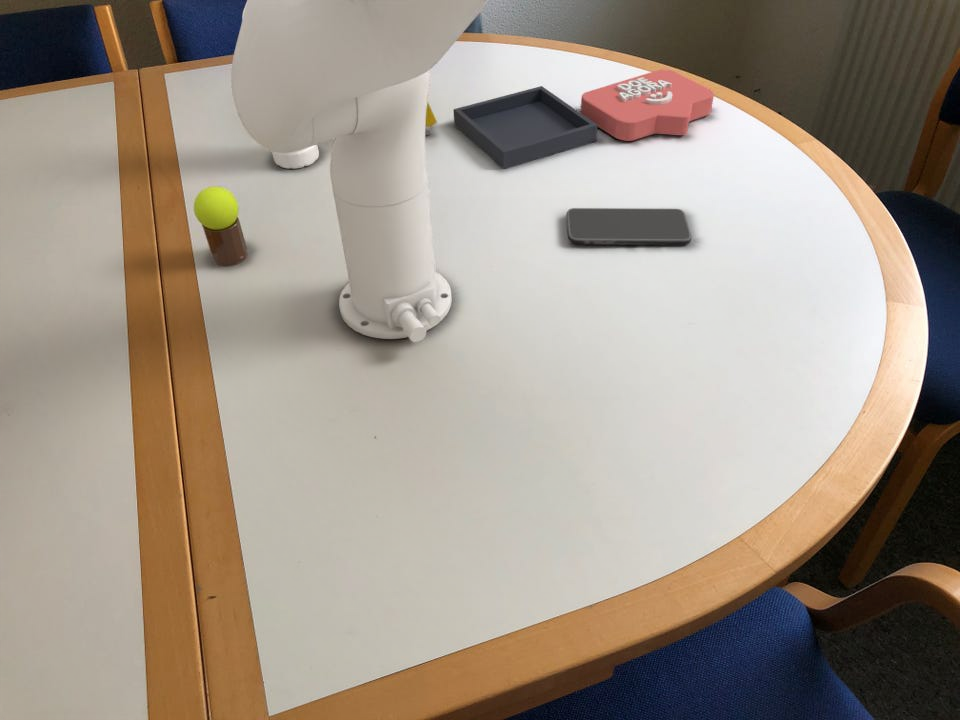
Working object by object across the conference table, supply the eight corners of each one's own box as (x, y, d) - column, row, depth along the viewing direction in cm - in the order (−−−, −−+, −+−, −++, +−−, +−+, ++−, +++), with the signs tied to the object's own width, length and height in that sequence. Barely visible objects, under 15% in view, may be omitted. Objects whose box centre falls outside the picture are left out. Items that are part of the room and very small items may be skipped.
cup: (252, 259, 97) (242, 225, 94) (217, 270, 96) (207, 235, 92) (242, 242, 100) (233, 208, 96) (209, 252, 98) (198, 218, 95)
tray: (596, 141, 116) (597, 124, 114) (503, 169, 111) (503, 152, 109) (541, 101, 126) (541, 85, 125) (454, 125, 121) (453, 109, 120)
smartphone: (693, 240, 95) (568, 239, 96) (692, 247, 96) (568, 246, 97) (683, 207, 101) (565, 207, 101) (682, 213, 101) (565, 213, 102)
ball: (247, 230, 94) (237, 193, 90) (205, 242, 92) (194, 205, 89) (236, 210, 97) (226, 174, 94) (195, 222, 96) (184, 185, 92)
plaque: (639, 129, 110) (575, 91, 120) (636, 154, 113) (574, 115, 123) (734, 96, 117) (666, 63, 126) (729, 121, 119) (663, 86, 129)
